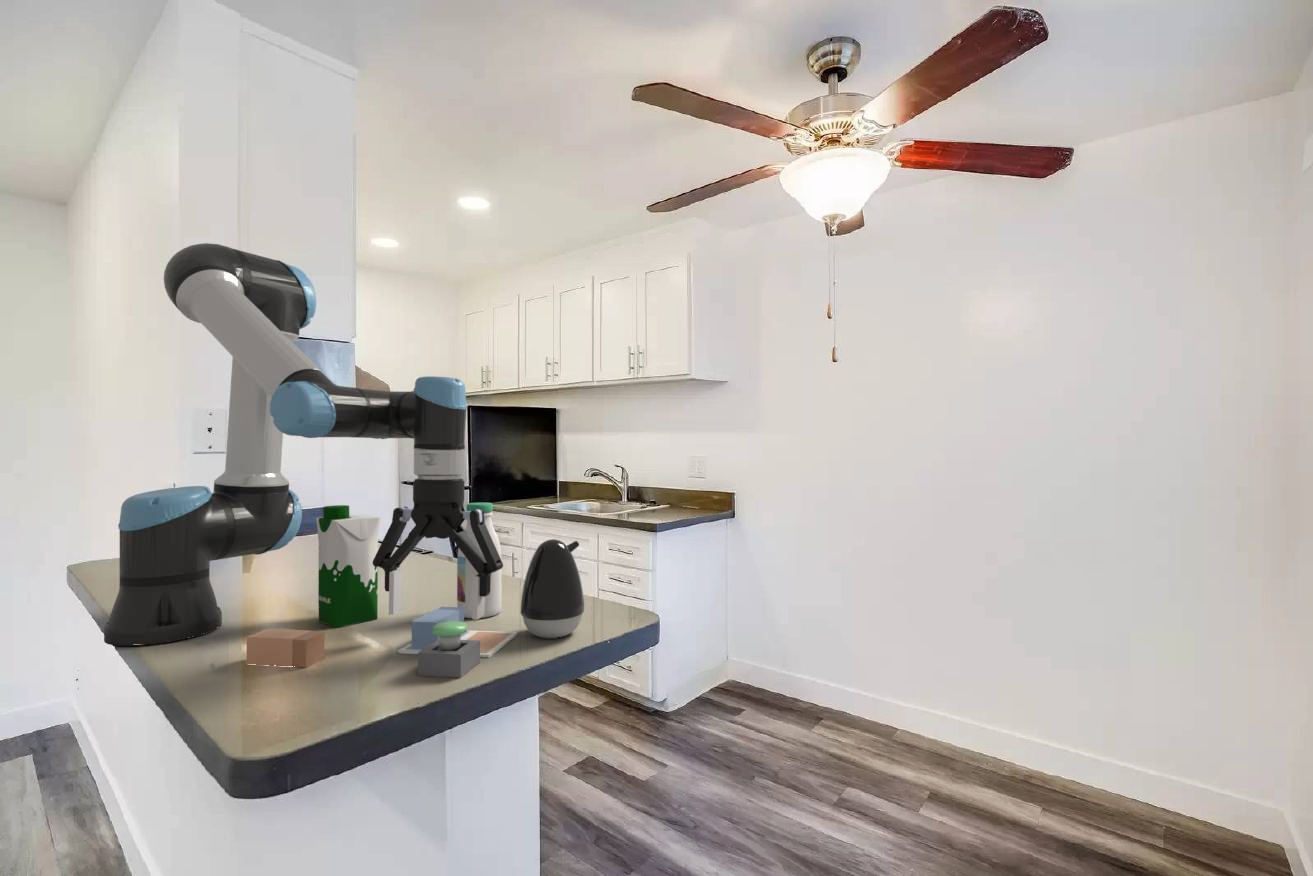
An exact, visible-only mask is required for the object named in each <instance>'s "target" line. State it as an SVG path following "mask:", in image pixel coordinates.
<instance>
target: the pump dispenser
mask: <svg viewBox="0 0 1313 876" xmlns="http://www.w3.org/2000/svg"><path fill="white" fill-rule="evenodd" d="M579 546H580V542H578V540H574V541H572V542H571V543H568V545H567V544H565V542H563V541H561V540H559V539H548V540H545V541H543V542H542V543H541V544H539V545H538V547H537V548H536V550H535V551H534V553H533V555H532V557H531V559H530V562H529V565H528V568H527V571H526V575H525V578H524V581H523V585H522V591H521V592H522V593H521V599H520V610H519V611H520V615H521V616H522V619H523V622H524V625H525V627H526V628H527V630H528V631H529V632H530V633H531V634H532V635H534V636H535V637H538V638H542V639H559V638H558V637H560V638H564V637H566V636H568V635H570V634H572V633H573V632H574V631H575V630H576V629H577V628H578V626H579V625H580V623H581V621H582V618H583V614H584V613H585V598H584V590H583V589H584V588H583V585H582V581H581V576H580V572H579V568H578V566H577V562H576V560H575V558H574V556H573V552H574V551H575V550H576V549H577V548H578V547H579ZM563 636H564V637H563Z"/></svg>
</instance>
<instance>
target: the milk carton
mask: <svg viewBox="0 0 1313 876" xmlns="http://www.w3.org/2000/svg"><path fill="white" fill-rule="evenodd" d="M322 509H323V511H322V512H323V514H322V515H323V516H322V517H320V516H319V517H316V519H315V520H316V521H315V522H316V528H317V529H316V531H317V539H318V585H317V586H318V595H317V596H318V597H317V599H318V600H317V601H318V622H321V623H324V624H327V625H328V626H331V627H333V628H341V627H346V626H351V625H357V624H361V623H366V622H371V621H373V620H378V603H379V602H378V593H379V592H378V591H379V590H378V588H379V587H378V586H379V585H378V578H379V577H378V576H379V574H378V573H379V571H378V570H379V569H378V568H379V567H378V566H377V567H375V566H374V565H373V560H374V558H375V556H376V554H377V552H378V550H379V531H380V524H381V523H380V522H381V516H374V515H369V514H368V515H365V514H354V515H353V514H352V515H351V514H350V505H345V504H344V505H343V504H341V505H325V506H323V507H322Z"/></svg>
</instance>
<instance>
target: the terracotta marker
mask: <svg viewBox="0 0 1313 876" xmlns="http://www.w3.org/2000/svg"><path fill="white" fill-rule="evenodd" d="M325 639H326V633H325V631H313V630H309V629H307V630H306V629H305V630H304V629H303V630H301V629H285V628H284V629H282V628H281V629H280V628H267V629H263V630H261V631H258V632H257V633H254V634H250V635H248V636H247V637H246V665H247V664H256V665H269V666H274V665H276V666H293V668H295V667H300V668H299V669H307V668H309V667H311V666H313V665H315V664H317V663H319V662H321V661H323V660H325V659H326V658H325V657H326V656H325V653H326V652H325V650H326V649H325V647H326V646H325V644H326V642H325V641H326V640H325ZM294 666H295V667H294ZM301 667H303V668H301Z"/></svg>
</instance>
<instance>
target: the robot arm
mask: <svg viewBox="0 0 1313 876" xmlns="http://www.w3.org/2000/svg"><path fill="white" fill-rule="evenodd" d="M163 273H164V274H163V285H164V289H165V292H166V294H167V296H168V298H169V300H170V301H171V302H172V304H173V305H174V306H175V307H176V308H177V310H178V311H179V312H180V313H181V314H182V315H183V316H184V317H185V318H187V319H189V320H190V321H193V322H194V323H198V324H201V325H203V327H205V329H206V330H207V331H208V332H209V333H210V334H211V335H212V336H213V338H215V340H216V341H217V342H218V343H219V344H220V345H221V346H222V347H223V349H225V350H226V351H227V352H228V353H229V354H230V355H231V357H232V358H231V359H232V362H231V377H230V378H231V379H230V388H229V389H230V390H229V407H228V420H227V421H228V422H227V439H226V451H225V453H226V455H225V466H224V467H225V469H224V472H222V474H221V475H219V476H218V477H217V478H216V479H214V481H213V492H211V489H210V488H209V486H206V485H205V486H203V485H192V486H191V485H188V486H182V487H181V486H180V487H171V488H170V487H169V488H162V489H157V490H150V491H145V492H141V493H136V494H134V495H131V496H129V497H127V498H126V499H125V500H124V501H123V502H122V504H121V506H120V515H119V523H118V529H119V589H118V593H117V596H116V598H115V601H114V603H113V607H112V609H111V613H110V616H109V620H108V621H107V622H106V623H105V624H104V628H103V629H104V630H103V637H104V638H103V642H104V643H105V644H107V645H111V646H116V647H117V646H118V647H134V646H133V644H150V645H157V643H159V644H164V643H163V642H166V643H170V642H169V641H172V642H177V640H178V641H181V640H180V639H183V638H187V639H189V638H188V637H191V638H193V637H192V636H195V637H199V636H202V635H204V634H203V633H206V632H208V633H211V632H213V631H215V630H214V629H216V628H217V627H219V628H221V626H222V625H221V624H223V623H222V622H223V621H222V619H223V618H222V617H223V611H222V609H221V607H220V606H218V603H217V599H216V598H217V597H216V595H215V593H214V589H213V586H212V584H211V580H210V562H212V561H219V560H223V559H231V558H238V557H243V556H250V555H262V554H265V553H267V552H273V551H276V550H280V549H281V548H282V549H283V548H284V547H285V546H286V547H287V546H288V544H289V542H291V541H293V539H294V538H295V537H296V535H297V534H298V532H299V529H300V526H301V524H302V518H303V508H302V503H300V502H299V501H300V499H299V497H298V495H297V494H296V493H295V492H294V491H293V490H291V489H289V488H290V481H289V480H288V479H287V478H286V477H285V476H284V475H283V474H282V473H281V470H282V469H281V468H282V467H281V466H282V454H283V451H282V450H283V439H284V437H283V436H284V435H287V436H294V437H302V438H309V439H315V438H316V439H318V438H354V439H355V438H359V439H361V438H363V439H374V440H375V439H377V440H378V439H379V440H380V439H381V440H386V439H413V474H414V475H415V476H417V478H415V479H414V480H413V482H412V501H413V507H412V509H411V508H409V507H407V506H400V507H399V506H398V507H395V508H394V509H393V511H392V518H391V523H390V526H388V527H389V528H388V529H387V531H386V533H385V536H384V538H383V540H382V542H381V543H380V546H379V547H378V552H377V554H376V556H375V558H374V560H373V565H374V566H375V567H377V566H378V568H381V569H383V571H384V590H385V592H388V615H391V616H392V615H393V616H394V615H396V614H398V613H400V612H403V611H404V609H403V608H404V572H405V571H404V568H400V567H401V564H402V563H404V561H405V560H406V558H407V557H408V556H409V554H411V552H412V551H413V550H414V549H415V548H416V546H417V545H418V544H419V543H420V541H422V539H423V538H425V539H432V538H437V539H442V540H443V539H444V540H445V539H447V538H449V540H450V541H451V542H453V543H455V545H456V546H457V548H458V547H459V549H460V550H461V551H462V553H463V554H464V555H465V557H466V558H467V559H468V561H469V562H470V563H471V565H472V566H473V567H474V569H475V570H476V571H477V573H478V574H477V575H475V576H473V612H472V618H471V619H472V621H473V620H475V621H477V620H479V619H482V618H481V617H482V616H484V615H485V597H486V596H487V595H489V593H490V584H491V573H493V572H496V571H498V570H500V569H501V570H502V569H503V567H504V563H503V561H502V557H501V558H500V556H499V554H498V552H497V549H496V547H495V545H494V543H493V541H492V538H491V536H490V534H489V532H488V529H487V527H486V525H485V521H484V512H483V510H482V509H477V510H473V511H466V510H465V506H464V503H465V480H464V479H463V478H461V477H462V476H463V475H465V473H466V468H465V467H466V465H465V464H466V463H465V461H466V454H465V453H466V445H465V439H466V421H467V420H466V417H467V407H468V405H467V397H466V393H467V392H466V385H465V383H464V381H462V380H461V379H459V378H458V377H457V378H456V377H448V376H434V375H433V376H432V375H431V376H430V375H429V376H420V377H418V378H416V380H415V382H414V388H413V390H411V391H393V390H391V391H389V390H380V389H371V388H360V387H352V386H344V385H343V386H342V385H337V384H335V383H334V382H333V380H331V379H330V378H329V377H328V376H326V374H324V373H323V372H322V370H320V368H318V366H316V365H315V364H314V363H313V362H312V361H311V359H309V358H308V357H307V356H306V355H305V353H303V352H302V351H301V350H300V349H299V347H298V346H296V345H295V344H294V341H296V340H297V339H299V338H300V330H301V329H304V328H306V327H307V326H309V325H310V324H311V321H312V318H314V317H315V314H316V310H317V296H316V292H315V287H314V285H313V283H312V281H311V279H310V278H309V277H308V276H307V274H306V273H305V272H304V271H302V270H301V268H300V269H299V268H298V267H296V266H293V265H290V264H287V263H286V262H283V261H282V260H279V259H277V260H276V259H272V258H269V257H265V256H262V255H258V254H254V253H250V252H246V251H243V250H241V249H240V250H239V249H236V248H233V247H229V246H225V245H222V244H218V243H209V242H208V243H207V242H206V243H197V244H192V245H189V246H186V247H184V248H182V249H181V250H179V251H177V252H176V253H175V254H174V255H172V257H171V258H170V259H169V260H168V262H167V264H166V266H165V269H164V271H163ZM410 519H412V521H413V523H414V524H415V526H414V527H413V528H412V529H411V530H410V532H409V533H408V534H407V535H408V536H407V537H405V539H404V541H402V542H401V544H400V545H399V547H398V548H397V549H396V550H395V548H396V547H397V544H398V543H399V541H400V539H401V537H402V535H403V532H404V530H405V529H406V527H407V524H408V522H409V521H410ZM465 520H466V523H467V522H468V524H470V525H471V528H472V531H473V533H474V536H475V538H476V540H477V542H478V544H479V547H480V549H481V551H482V553H483V555H482V554H481V552H480V551H479V550H478V549H477V547H476V546H475V545H474V543H473V542H472V541H471V539H470V538H469V537H468V534H467V532H466V530H465V529H466V528H464V526H463V525H462V524H463V523H464V522H465ZM217 629H218V628H217ZM217 629H216V630H217ZM212 630H213V631H212ZM210 631H211V632H210ZM201 634H202V635H201ZM206 634H207V633H206ZM198 635H199V636H198ZM183 640H184V639H183Z"/></svg>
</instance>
